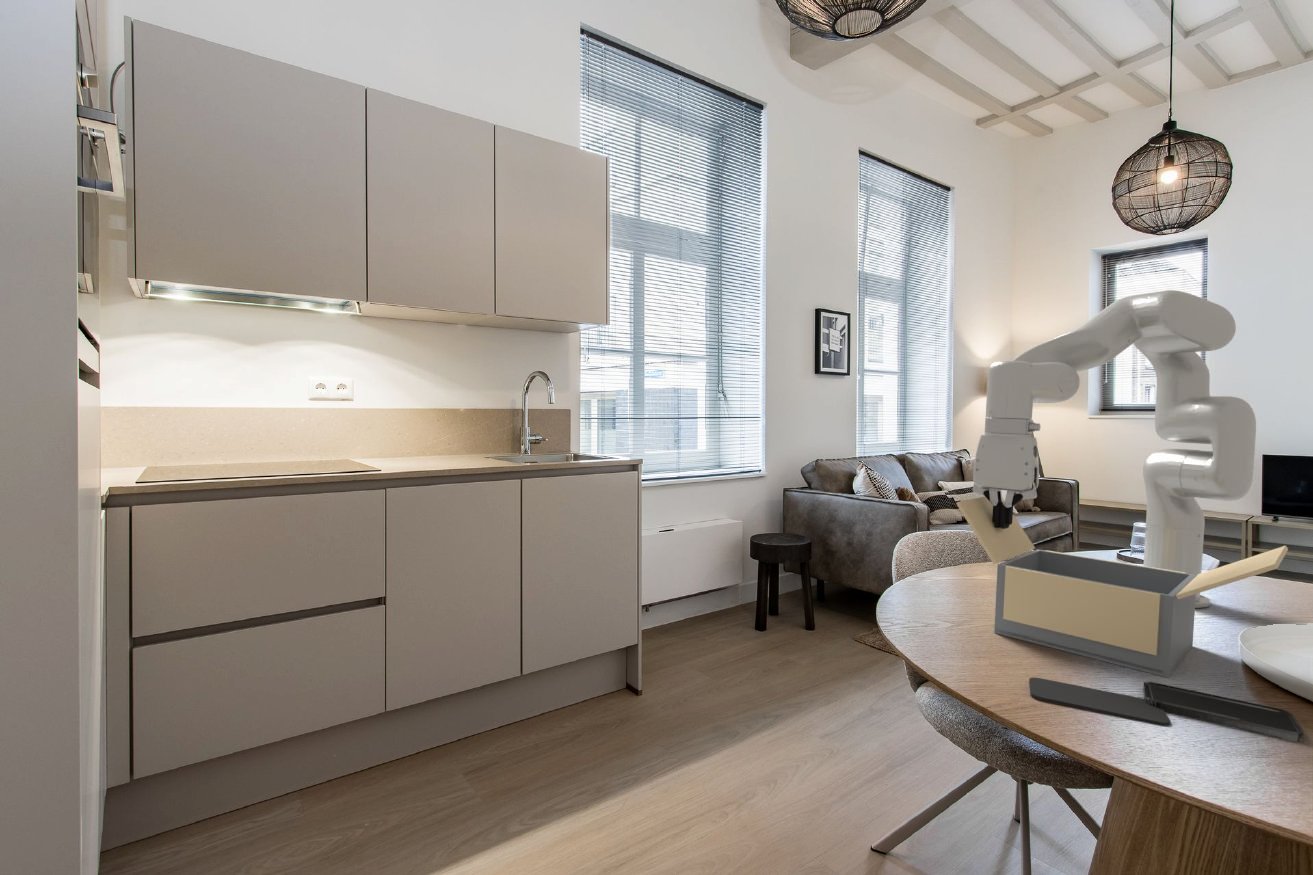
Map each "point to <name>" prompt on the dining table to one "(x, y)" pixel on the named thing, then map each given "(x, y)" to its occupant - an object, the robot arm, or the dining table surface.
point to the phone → (1096, 701)
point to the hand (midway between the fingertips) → (1001, 527)
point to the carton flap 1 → (994, 531)
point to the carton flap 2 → (1234, 572)
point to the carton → (1097, 609)
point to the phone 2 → (1224, 711)
